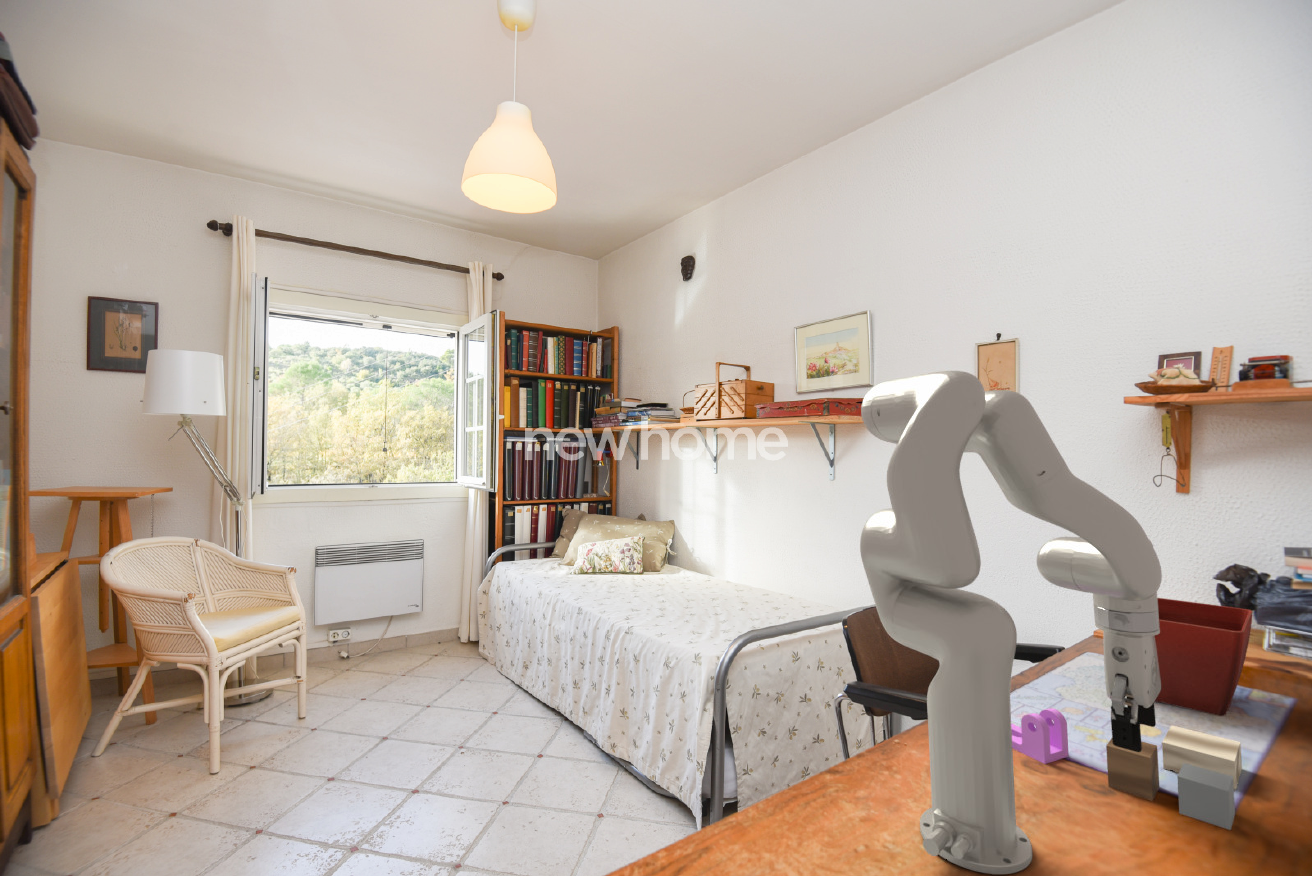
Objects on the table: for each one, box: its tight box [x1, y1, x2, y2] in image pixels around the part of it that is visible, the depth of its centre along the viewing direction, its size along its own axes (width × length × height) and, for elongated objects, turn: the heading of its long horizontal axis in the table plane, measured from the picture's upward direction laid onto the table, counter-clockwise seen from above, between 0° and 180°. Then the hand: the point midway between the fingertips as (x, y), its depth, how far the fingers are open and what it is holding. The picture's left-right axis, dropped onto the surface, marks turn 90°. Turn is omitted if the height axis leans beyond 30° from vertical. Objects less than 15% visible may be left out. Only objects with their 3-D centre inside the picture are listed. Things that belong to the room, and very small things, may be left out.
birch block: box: [1161, 724, 1243, 790], centre depth 91 cm, size 8×8×4 cm
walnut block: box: [1106, 737, 1160, 802], centre depth 87 cm, size 5×5×6 cm
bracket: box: [1011, 707, 1070, 765], centre depth 101 cm, size 13×6×7 cm, turn 22°
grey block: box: [1176, 763, 1236, 831], centre depth 80 cm, size 5×5×5 cm
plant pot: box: [1154, 597, 1254, 716], centre depth 116 cm, size 19×19×17 cm
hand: (1134, 735), depth 87 cm, fingers open, 9 cm apart
